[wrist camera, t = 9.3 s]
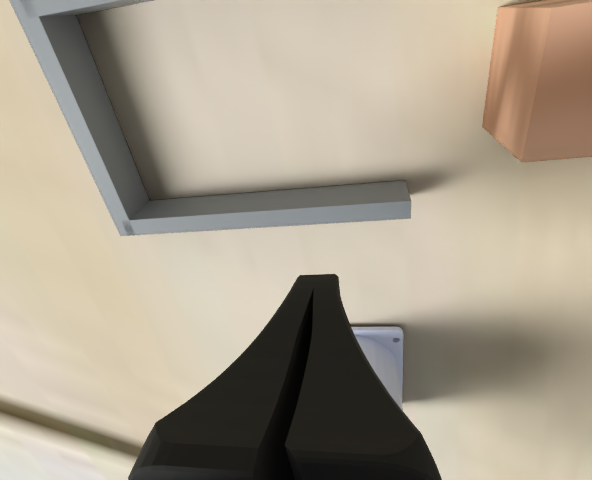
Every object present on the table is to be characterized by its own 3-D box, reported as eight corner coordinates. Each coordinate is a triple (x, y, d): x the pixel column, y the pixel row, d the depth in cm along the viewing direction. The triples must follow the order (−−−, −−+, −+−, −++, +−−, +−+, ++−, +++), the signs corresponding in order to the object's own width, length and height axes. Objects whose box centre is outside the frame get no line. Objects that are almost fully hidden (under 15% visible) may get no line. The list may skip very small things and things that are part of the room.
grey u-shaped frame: (404, 196, 20) (410, 218, 18) (141, 215, 23) (120, 236, 21) (409, -82, 14) (419, -97, 12) (47, -6, 17) (5, -8, 15)
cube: (595, 114, 17) (675, 149, 13) (481, 126, 18) (521, 162, 14) (633, -14, 14) (748, -22, 10) (497, 7, 15) (551, 7, 11)
